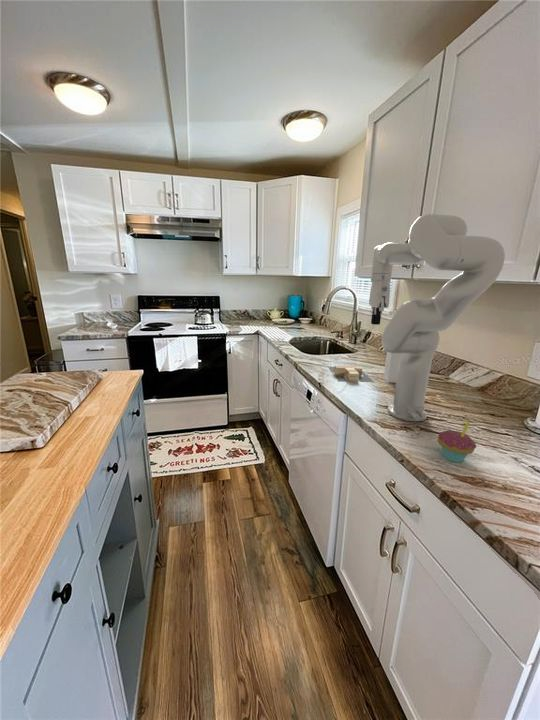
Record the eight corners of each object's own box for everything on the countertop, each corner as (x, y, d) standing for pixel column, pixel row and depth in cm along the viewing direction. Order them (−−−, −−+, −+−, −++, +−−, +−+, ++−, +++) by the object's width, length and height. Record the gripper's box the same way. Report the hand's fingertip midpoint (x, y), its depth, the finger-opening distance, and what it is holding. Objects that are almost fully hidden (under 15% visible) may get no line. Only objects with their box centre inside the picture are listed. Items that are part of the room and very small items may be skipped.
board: (373, 384, 132) (374, 381, 132) (338, 383, 132) (338, 381, 131) (358, 369, 153) (358, 367, 153) (327, 368, 153) (327, 366, 152)
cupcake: (477, 460, 78) (487, 418, 75) (462, 471, 74) (472, 427, 70) (443, 445, 85) (451, 406, 82) (428, 454, 80) (436, 413, 77)
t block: (367, 382, 131) (368, 373, 130) (340, 382, 131) (341, 373, 130) (358, 373, 143) (359, 365, 142) (333, 373, 142) (334, 365, 141)
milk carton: (398, 380, 138) (404, 340, 133) (403, 385, 132) (410, 343, 126) (383, 379, 139) (388, 339, 134) (387, 384, 132) (393, 343, 127)
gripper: (398, 278, 112) (391, 327, 117) (382, 278, 126) (377, 321, 131) (378, 278, 111) (372, 327, 116) (365, 278, 126) (360, 321, 131)
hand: (375, 324), depth 124 cm, fingers closed
